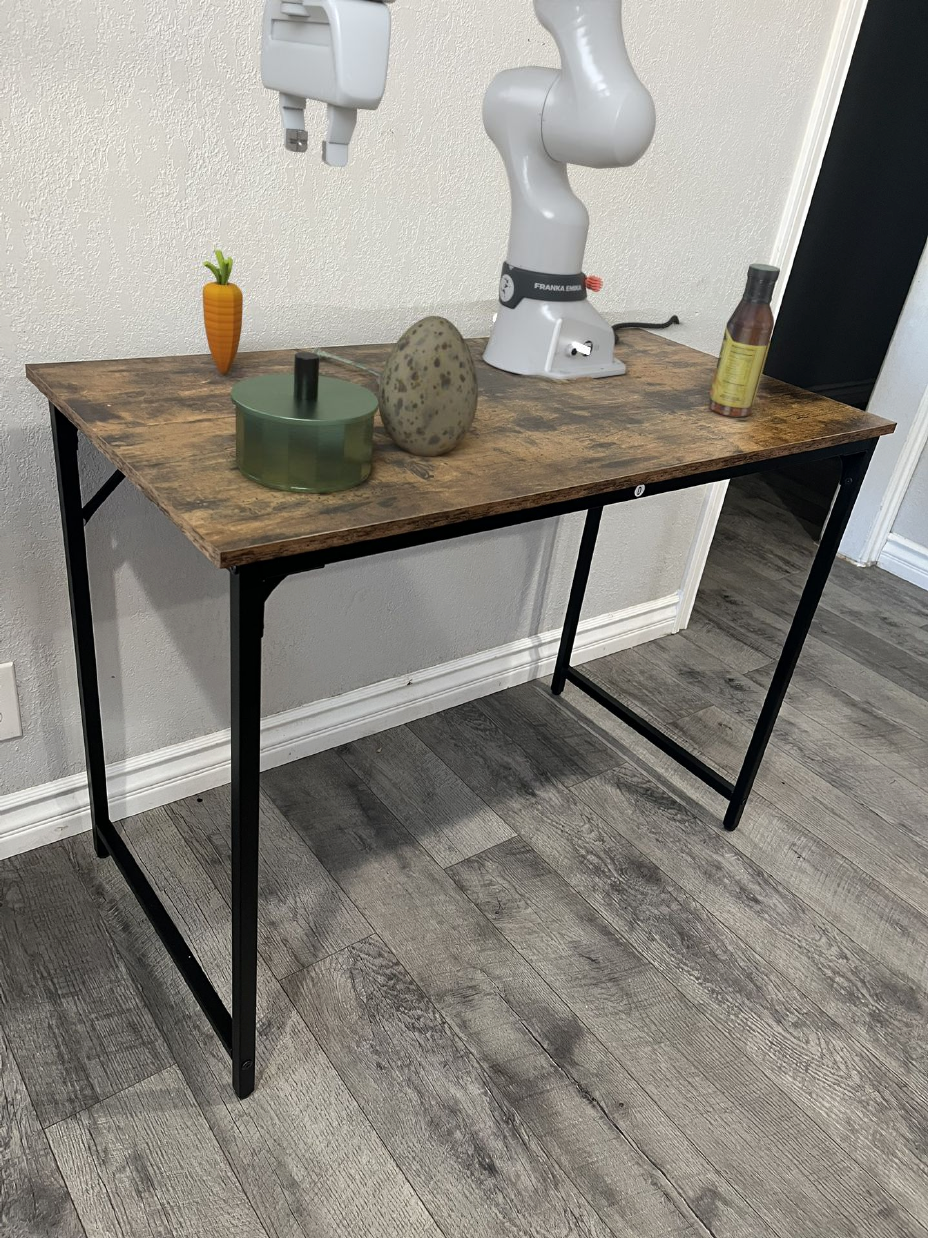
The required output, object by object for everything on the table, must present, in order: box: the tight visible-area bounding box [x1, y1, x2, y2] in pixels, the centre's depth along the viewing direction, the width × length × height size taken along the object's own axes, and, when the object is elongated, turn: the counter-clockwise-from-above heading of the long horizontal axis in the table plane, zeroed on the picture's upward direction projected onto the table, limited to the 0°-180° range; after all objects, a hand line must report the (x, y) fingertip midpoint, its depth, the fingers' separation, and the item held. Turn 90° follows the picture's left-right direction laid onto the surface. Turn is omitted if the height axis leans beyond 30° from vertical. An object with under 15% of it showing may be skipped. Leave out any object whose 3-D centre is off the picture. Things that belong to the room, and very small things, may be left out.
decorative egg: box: [377, 315, 479, 457], centre depth 102 cm, size 11×11×15 cm
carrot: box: [202, 249, 244, 376], centre depth 118 cm, size 5×5×15 cm
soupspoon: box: [311, 347, 382, 385], centre depth 126 cm, size 22×3×7 cm
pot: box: [235, 406, 375, 494], centre depth 96 cm, size 14×14×7 cm
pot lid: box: [230, 351, 379, 426], centre depth 94 cm, size 15×15×5 cm
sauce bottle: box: [708, 263, 781, 418], centre depth 129 cm, size 7×6×20 cm
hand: (314, 158), depth 84 cm, fingers open, 8 cm apart
